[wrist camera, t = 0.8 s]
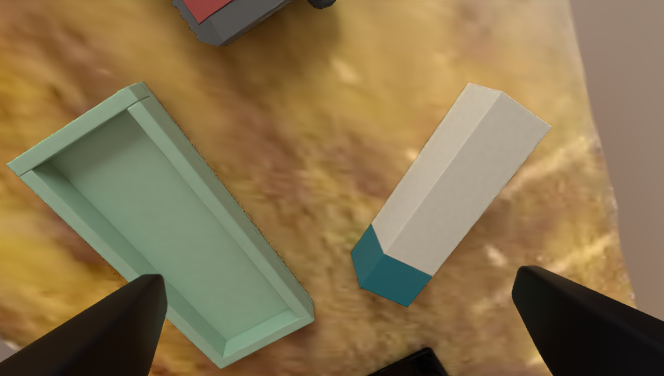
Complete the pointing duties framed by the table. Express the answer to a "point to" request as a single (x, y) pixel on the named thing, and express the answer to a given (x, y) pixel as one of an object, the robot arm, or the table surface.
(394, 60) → the table surface
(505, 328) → the table surface
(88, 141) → the pen tray
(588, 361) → the robot arm
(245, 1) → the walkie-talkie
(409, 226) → the beige and teal block
